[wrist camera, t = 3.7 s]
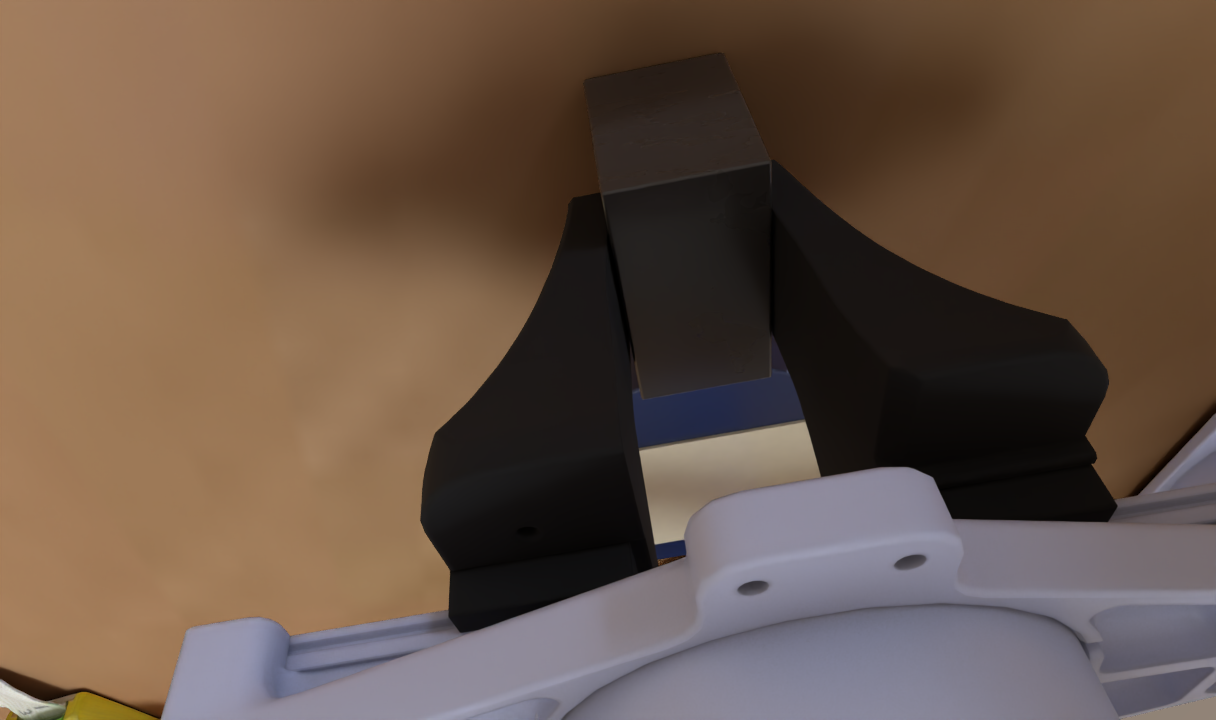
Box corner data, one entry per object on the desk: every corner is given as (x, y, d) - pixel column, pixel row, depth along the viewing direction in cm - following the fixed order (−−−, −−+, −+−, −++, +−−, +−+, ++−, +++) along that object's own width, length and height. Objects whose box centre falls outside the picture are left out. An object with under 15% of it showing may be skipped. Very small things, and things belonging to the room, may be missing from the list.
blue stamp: (438, 107, 14) (425, 227, 12) (874, 20, 14) (955, 125, 11) (584, 521, 25) (593, 628, 23) (827, 480, 25) (864, 583, 22)
